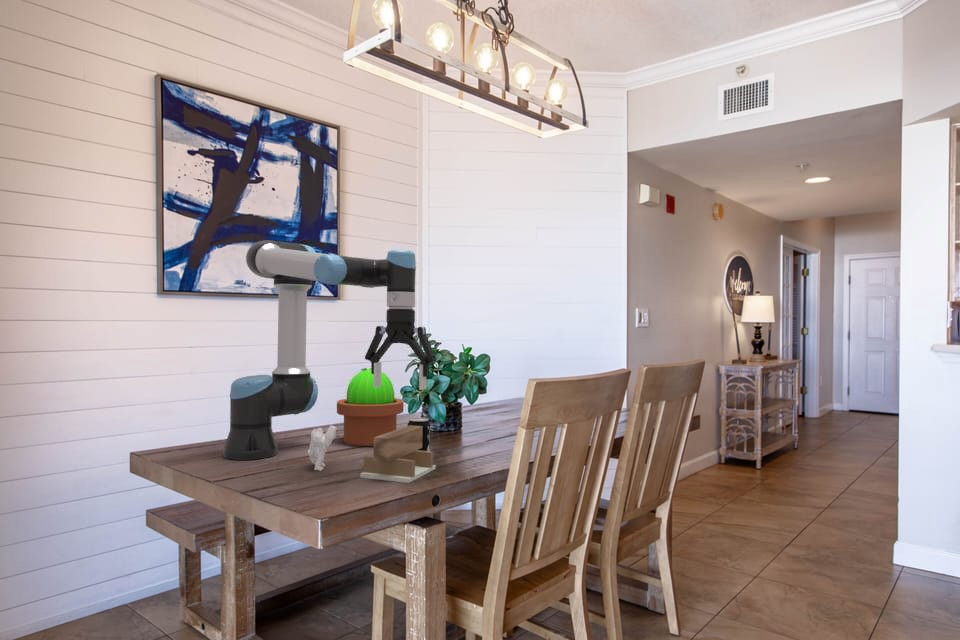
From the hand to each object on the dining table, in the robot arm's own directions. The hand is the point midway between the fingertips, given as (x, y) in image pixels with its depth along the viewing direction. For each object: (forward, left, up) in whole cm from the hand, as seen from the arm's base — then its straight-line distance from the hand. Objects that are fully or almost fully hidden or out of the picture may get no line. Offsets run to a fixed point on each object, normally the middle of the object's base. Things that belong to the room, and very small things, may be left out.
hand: (399, 388), depth 162 cm
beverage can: (-2, +15, -23) cm, 28 cm away
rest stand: (0, 0, -23) cm, 23 cm away
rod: (0, 0, -18) cm, 18 cm away
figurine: (-22, -3, -23) cm, 32 cm away
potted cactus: (-29, +34, -23) cm, 50 cm away
